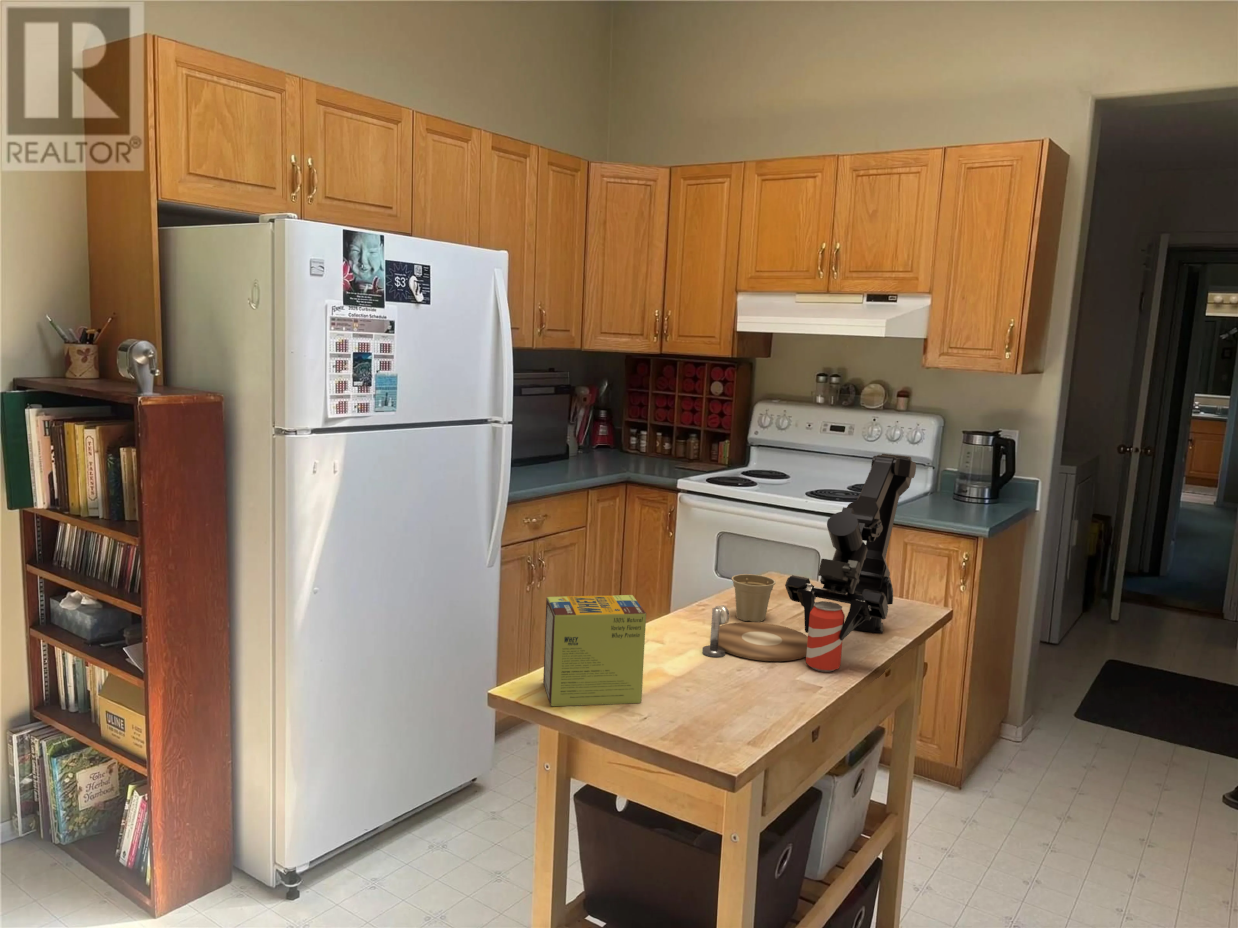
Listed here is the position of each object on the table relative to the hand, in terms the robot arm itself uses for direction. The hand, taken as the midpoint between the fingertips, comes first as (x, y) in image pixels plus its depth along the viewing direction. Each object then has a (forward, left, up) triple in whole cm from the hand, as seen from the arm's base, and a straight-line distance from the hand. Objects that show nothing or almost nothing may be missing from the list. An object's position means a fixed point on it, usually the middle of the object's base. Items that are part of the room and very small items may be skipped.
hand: (823, 635), depth 167 cm
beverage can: (-1, 0, -7) cm, 7 cm away
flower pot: (-25, -17, -7) cm, 31 cm away
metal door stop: (0, -20, -7) cm, 21 cm away
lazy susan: (-9, -12, -7) cm, 17 cm away
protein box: (+27, -36, -7) cm, 45 cm away
